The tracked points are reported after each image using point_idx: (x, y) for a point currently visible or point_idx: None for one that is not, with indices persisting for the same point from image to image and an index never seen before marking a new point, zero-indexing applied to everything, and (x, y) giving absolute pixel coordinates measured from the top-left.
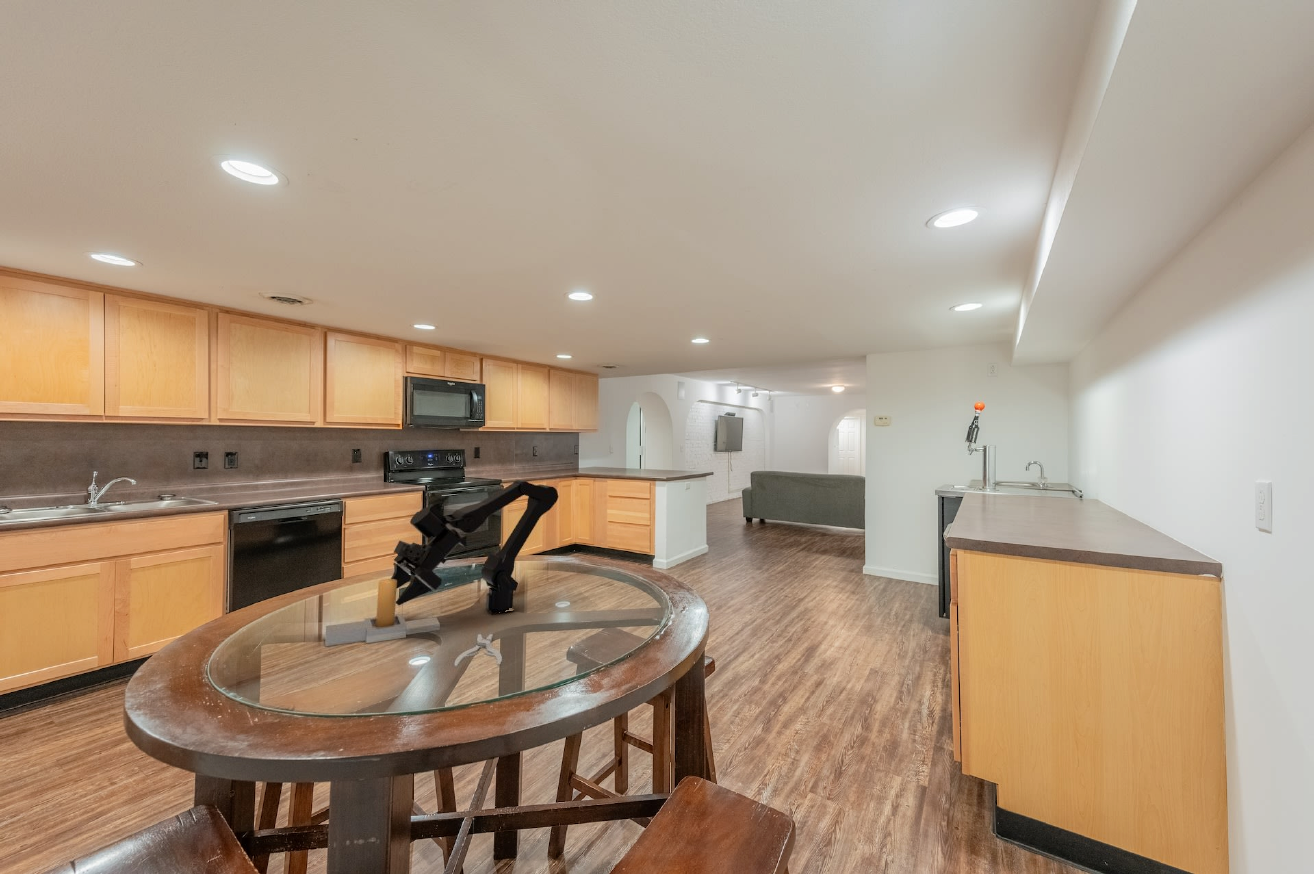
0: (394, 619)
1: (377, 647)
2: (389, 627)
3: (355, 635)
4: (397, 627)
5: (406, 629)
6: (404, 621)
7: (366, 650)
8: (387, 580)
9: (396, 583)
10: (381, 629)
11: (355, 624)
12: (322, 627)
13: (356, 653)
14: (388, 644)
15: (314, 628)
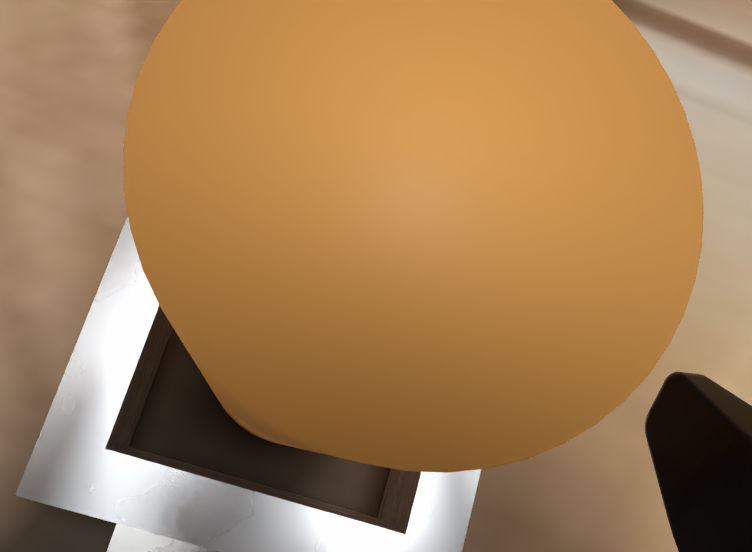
0: (244, 427)
1: (20, 181)
2: (95, 305)
3: None
4: (60, 390)
5: (118, 525)
6: (164, 528)
7: (27, 90)
8: (525, 191)
9: (231, 395)
10: (124, 228)
11: None
12: (740, 66)
13: (27, 12)
14: (13, 281)
15: (748, 21)
